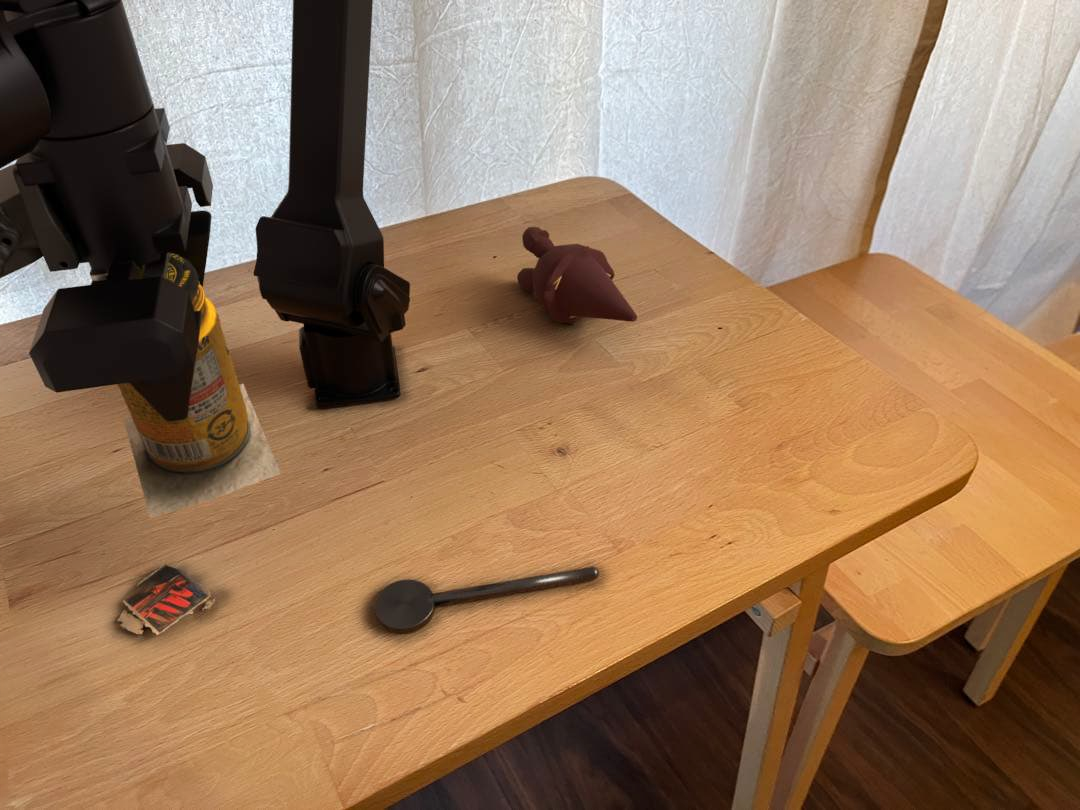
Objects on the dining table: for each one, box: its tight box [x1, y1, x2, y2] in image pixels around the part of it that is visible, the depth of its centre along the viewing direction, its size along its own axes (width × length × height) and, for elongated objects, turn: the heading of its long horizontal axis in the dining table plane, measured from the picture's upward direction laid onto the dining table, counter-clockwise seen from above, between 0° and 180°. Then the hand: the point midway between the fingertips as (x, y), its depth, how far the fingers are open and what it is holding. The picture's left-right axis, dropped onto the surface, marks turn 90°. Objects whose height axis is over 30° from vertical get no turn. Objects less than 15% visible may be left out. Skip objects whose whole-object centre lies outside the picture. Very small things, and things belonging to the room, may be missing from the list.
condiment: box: [90, 253, 282, 518], centre depth 48 cm, size 7×8×12 cm
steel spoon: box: [374, 566, 600, 635], centre depth 54 cm, size 14×4×1 cm, turn 102°
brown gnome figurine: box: [516, 226, 638, 325], centre depth 75 cm, size 7×7×15 cm
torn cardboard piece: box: [117, 563, 220, 636], centre depth 53 cm, size 5×5×1 cm
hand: (181, 381), depth 50 cm, fingers closed on condiment, 6 cm apart
